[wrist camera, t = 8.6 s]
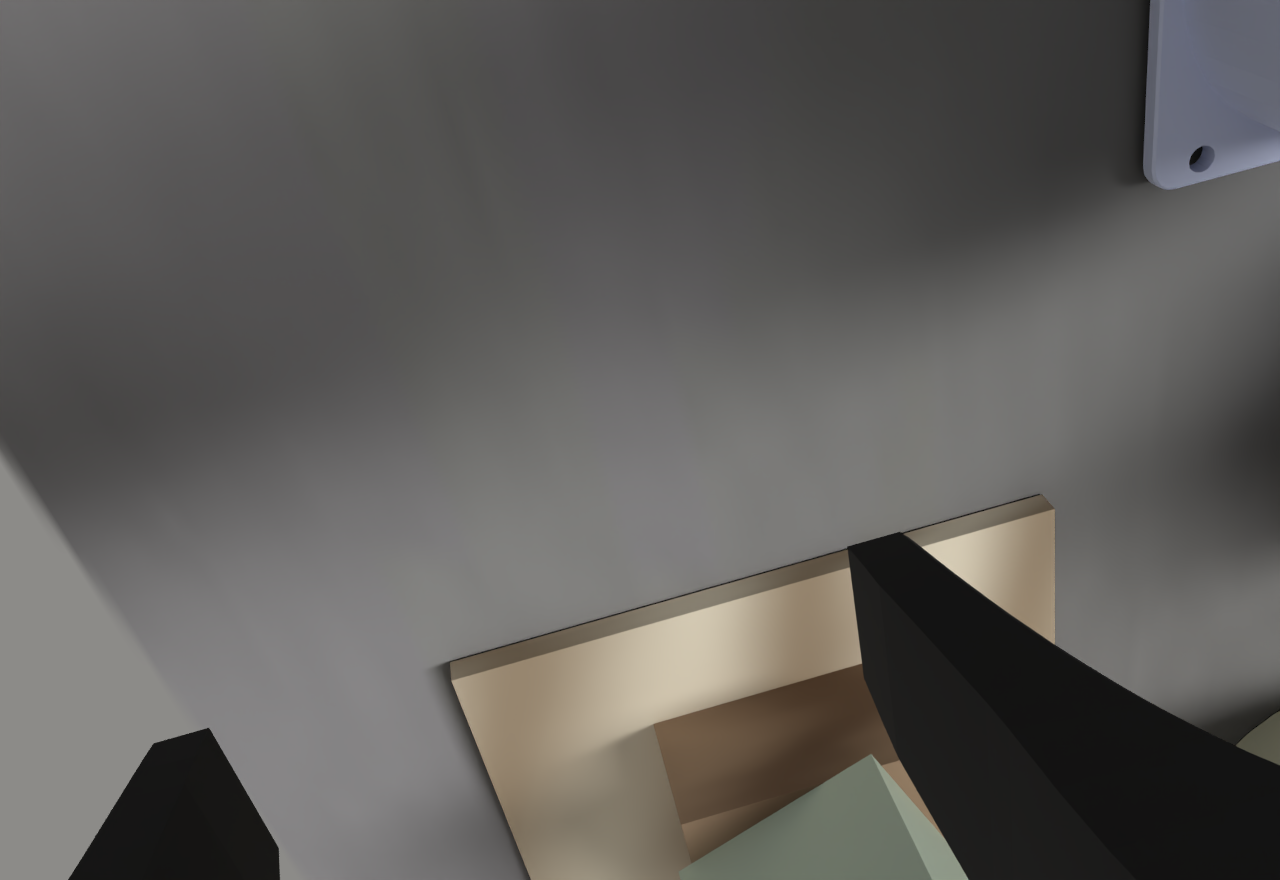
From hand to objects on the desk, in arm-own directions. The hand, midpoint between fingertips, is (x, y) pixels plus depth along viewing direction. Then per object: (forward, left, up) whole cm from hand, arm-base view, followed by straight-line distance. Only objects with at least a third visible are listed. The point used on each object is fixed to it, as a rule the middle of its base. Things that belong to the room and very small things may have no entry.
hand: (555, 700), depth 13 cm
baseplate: (-4, +14, -10) cm, 18 cm away
